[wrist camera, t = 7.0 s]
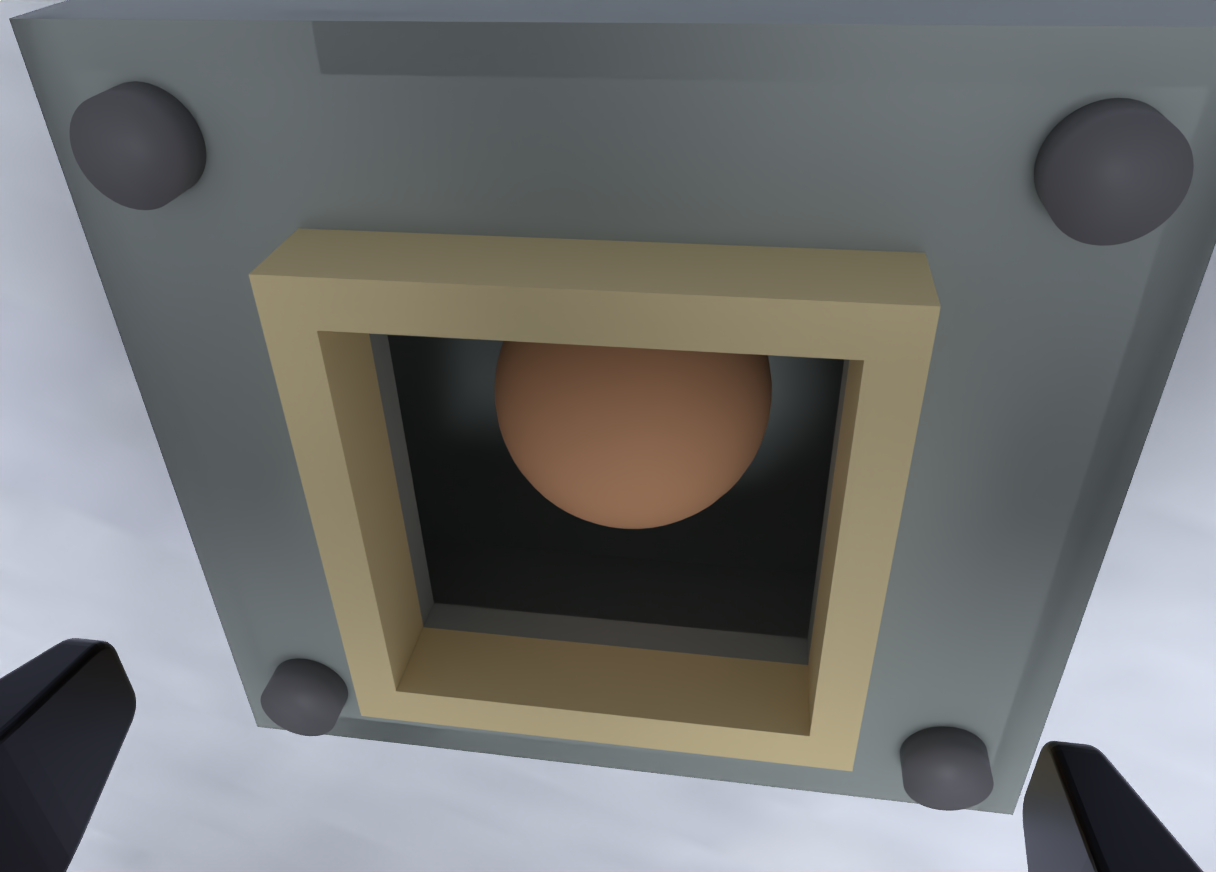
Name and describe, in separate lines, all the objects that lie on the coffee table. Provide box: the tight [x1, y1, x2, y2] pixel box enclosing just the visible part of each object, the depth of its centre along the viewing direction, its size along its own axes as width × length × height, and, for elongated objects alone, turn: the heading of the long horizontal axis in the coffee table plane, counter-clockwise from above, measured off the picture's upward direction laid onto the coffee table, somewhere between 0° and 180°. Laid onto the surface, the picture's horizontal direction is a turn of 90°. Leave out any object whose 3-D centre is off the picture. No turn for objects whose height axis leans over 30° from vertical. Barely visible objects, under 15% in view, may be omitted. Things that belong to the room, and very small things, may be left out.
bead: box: [494, 341, 772, 529], centre depth 14 cm, size 4×4×4 cm
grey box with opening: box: [9, 0, 1216, 815], centre depth 14 cm, size 12×11×6 cm
